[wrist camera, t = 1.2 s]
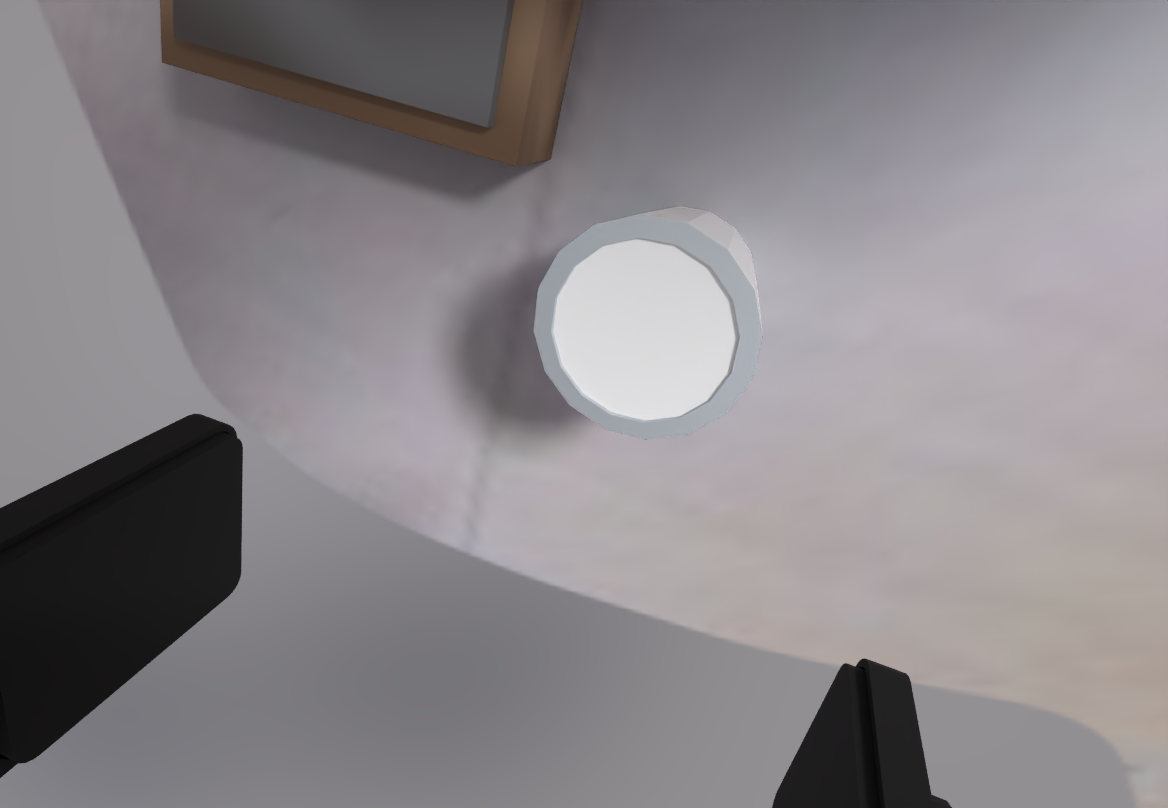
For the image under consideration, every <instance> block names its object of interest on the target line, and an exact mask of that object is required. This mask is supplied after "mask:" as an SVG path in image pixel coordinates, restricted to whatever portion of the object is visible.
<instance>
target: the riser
mask: <svg viewBox="0 0 1168 808" xmlns="http://www.w3.org/2000/svg"><path fill="white" fill-rule="evenodd" d="M581 5H582V0H160V8H161V42H162V63H166V64H169V65H172V66H176V67H179V68H183V69H186V70H189V71H193V72H196V73H200V74H203V75H206V76H210V77H213V78H217V79H220V80H223V81H227V82H230V83H234V84H237V85H240V86H244V87H247V88H251V89H254V90H257V91H261V92H264V93H268V94H271V95H274V96H278V97H281V98H285V99H288V100H291V101H295V102H298V103H302V104H305V105H308V106H312V107H315V108H319V109H322V110H325V111H329V112H332V113H336V114H339V115H342V116H346V117H349V118H353V119H356V120H359V121H363V122H366V123H370V124H373V125H376V126H380V127H383V128H387V129H390V130H394V131H397V132H400V133H404V134H407V135H411V136H414V137H417V138H421V139H424V140H428V141H431V142H434V143H438V144H441V145H445V146H448V147H451V148H455V149H458V150H462V151H465V152H468V153H472V154H475V155H479V156H482V157H485V158H489V159H492V160H496V161H499V162H502V163H506V164H509V165H513V166H521V165H526V164H531V163H536V162H540V161H545V160H550V159H551V154H552V149H553V144H554V139H555V134H556V129H557V124H558V119H559V114H560V109H561V104H562V99H563V94H564V89H565V84H566V79H567V74H568V69H569V64H570V59H571V54H572V49H573V45H574V40H575V35H576V30H577V25H578V20H579V15H580V10H581Z"/></svg>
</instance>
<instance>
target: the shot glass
mask: <svg viewBox="0 0 1168 808" xmlns="http://www.w3.org/2000/svg"><path fill="white" fill-rule="evenodd" d="M533 331H534V334H535V338H536V342H537V345H538V349H539V352H540V356H541V360H542V363H543V367H544V370H545V372H546V374H547V375H548V376H549V378H550V379H551V381H552V382H553V383H554V385H555V386H556V387H557V389H558V390H559V392H560V393H561V394H562V396H563V397H564V398H565V400H566V401H567V403H568V404H569V405H570V406H571V407H573V408H574V409H576V410H577V411H578V412H580V413H581V414H583V415H584V416H586V417H587V418H589V419H590V420H592V421H593V422H595V423H596V424H598V425H599V426H601V427H602V428H604V429H606V430H610V431H614V432H618V433H621V434H625V435H629V436H633V437H637V438H641V439H645V440H647V439H655V438H664V437H673V436H681V435H688V434H690V433H692V432H694V431H696V430H697V429H699V428H701V427H703V426H705V425H707V424H708V423H710V422H712V421H714V420H716V419H718V418H720V417H721V416H723V415H725V414H726V413H727V411H728V410H729V409H730V408H731V406H732V405H733V404H734V403H735V401H736V400H737V399H738V397H739V396H740V395H741V394H742V392H743V391H744V390H745V389H746V387H747V386H748V385H749V383H750V382H751V381H752V378H753V374H754V370H755V366H756V362H757V358H758V354H759V350H760V346H761V342H762V338H763V333H762V324H761V316H760V307H759V298H758V289H757V281H756V276H755V270H754V264H753V258H752V253H751V252H750V250H749V249H748V247H747V246H746V244H745V242H744V241H743V239H742V238H741V236H740V235H739V233H738V232H737V230H736V229H735V228H734V227H733V226H731V225H730V224H728V223H727V222H725V221H724V220H722V219H721V218H719V217H718V216H716V215H715V214H713V213H712V212H710V211H705V210H700V209H694V208H689V207H683V206H677V207H672V208H667V209H662V210H657V211H652V212H647V213H641V214H637V215H633V216H628V217H624V218H620V219H615V220H611V221H607V222H602V223H598V224H594V225H593V226H592V227H590V228H589V229H588V230H586V231H585V232H584V233H582V234H581V235H580V236H578V237H577V238H576V239H574V240H573V241H572V242H570V243H569V244H568V245H566V246H565V247H564V248H562V249H561V250H560V251H559V252H558V254H557V255H556V257H555V259H554V261H553V263H552V264H551V266H550V268H549V270H548V272H547V273H546V275H545V277H544V279H543V281H542V282H541V284H540V286H539V288H538V293H537V302H536V312H535V321H534V330H533Z"/></svg>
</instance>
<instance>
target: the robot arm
mask: <svg viewBox="0 0 1168 808" xmlns="http://www.w3.org/2000/svg"><path fill="white" fill-rule="evenodd" d="M242 455H243V447H242V443H241V441H240V440H239V439H238V438H237V435H236V431H235V430H234V428H233V427H231V426H230V425H228V424H225V423H223V422H219V421H217V420H214V419H212V418H209V417H206V416H204V415H201V414H192V415H189V416H187V417H185V418H183V419H180V420H179V421H176V422H175V423H172V424H170V425H168V426H166V427H164V428H162V429H160V430H158V431H156V432H154V433H152V434H150V435H148V436H146V437H144V438H142V439H140V440H138V441H136V442H134V443H132V444H130V445H128V446H126V447H124V448H122V449H120V450H118V451H116V452H114V453H111V454H109V455H108V456H105V457H103V458H102V459H99V460H97V461H95V462H93V463H91V464H89V465H87V466H85V467H83V468H81V469H79V470H77V471H75V472H73V473H71V474H69V475H67V476H65V477H63V478H61V479H59V480H57V481H55V482H53V483H51V484H49V485H47V486H44V487H43V488H40V489H38V490H37V491H34V492H33V493H30V494H28V495H26V496H24V497H22V498H20V499H18V500H16V501H14V502H12V503H10V504H8V505H6V506H4V507H2V508H0V778H1V777H2V776H3V775H4V774H6V773H7V772H8V771H9V770H10V769H12V768H13V767H14V766H15V765H16V764H18V763H26V762H28V761H30V760H33V759H34V758H36V757H37V756H39V755H40V754H41V753H42V752H43V751H45V750H46V749H47V748H48V747H50V746H51V745H52V744H53V743H54V742H56V741H57V740H58V739H59V738H60V737H62V736H63V735H64V734H65V733H66V732H67V731H69V730H70V729H71V728H72V727H73V726H75V725H76V724H77V723H78V722H79V721H80V720H81V719H83V718H84V717H85V716H87V715H88V714H89V713H90V712H91V711H92V710H94V709H95V708H96V707H97V706H98V705H100V704H101V703H102V702H103V701H104V700H105V699H107V698H108V697H109V696H110V695H112V694H113V693H114V692H115V691H116V690H117V689H119V688H120V687H121V686H122V685H123V684H125V683H126V682H127V681H128V680H129V679H131V678H132V677H133V676H134V675H135V674H137V673H138V671H140V670H141V669H142V668H144V667H145V666H146V665H147V664H148V663H150V662H151V661H152V660H153V659H154V658H156V657H157V656H158V655H159V654H160V653H162V652H163V651H164V650H165V649H166V648H167V647H169V646H170V645H171V644H172V643H173V642H175V641H176V640H177V639H178V638H179V637H181V636H182V635H183V634H184V633H185V632H187V631H188V630H189V629H190V628H191V627H192V626H194V625H195V624H196V623H197V622H198V621H200V620H201V619H202V618H203V617H204V616H206V615H207V614H208V613H209V612H210V611H211V610H213V609H214V608H215V607H216V606H217V605H219V604H220V603H221V602H222V601H223V600H225V599H226V598H227V597H228V596H229V595H230V594H231V593H232V592H233V590H234V589H235V588H236V586H237V584H238V582H239V579H240V576H241V539H242V537H241V536H242V462H243V461H242V460H243V458H242V457H243V456H242ZM772 808H952V807H951V806H950V805H949V803H948V802H947V801H946V800H943V799H940V798H938V797H936V796H933V795H931V791H930V786H929V780H928V774H927V769H926V763H925V758H924V752H923V748H922V741H921V736H920V731H919V725H918V720H917V714H916V709H915V703H914V698H913V692H912V687H911V682H910V679H909V676H908V675H907V674H906V673H903V672H900V671H898V670H895V669H892V668H889V667H887V666H884V665H881V664H879V663H876V662H873V661H870V660H868V659H861V660H860V661H859V662H858V664H857V665H856V667H855V666H852V665H849V664H847V663H846V664H843V665H842V666H841V668H840V670H839V671H838V673H837V675H836V677H835V680H834V681H833V683H832V685H831V687H830V689H829V691H828V693H827V695H826V697H825V699H824V701H823V703H822V705H821V707H820V709H819V710H818V712H817V714H816V716H815V718H814V720H813V722H812V724H811V726H810V728H809V730H808V732H807V734H806V736H805V738H804V740H803V742H802V744H801V746H800V748H799V750H798V752H797V754H796V755H795V757H794V759H793V761H792V763H791V765H790V767H789V769H788V771H787V773H786V775H785V777H784V779H783V781H782V783H781V785H780V787H779V789H778V791H777V793H776V796H775V799H774V802H773V807H772Z"/></svg>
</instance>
